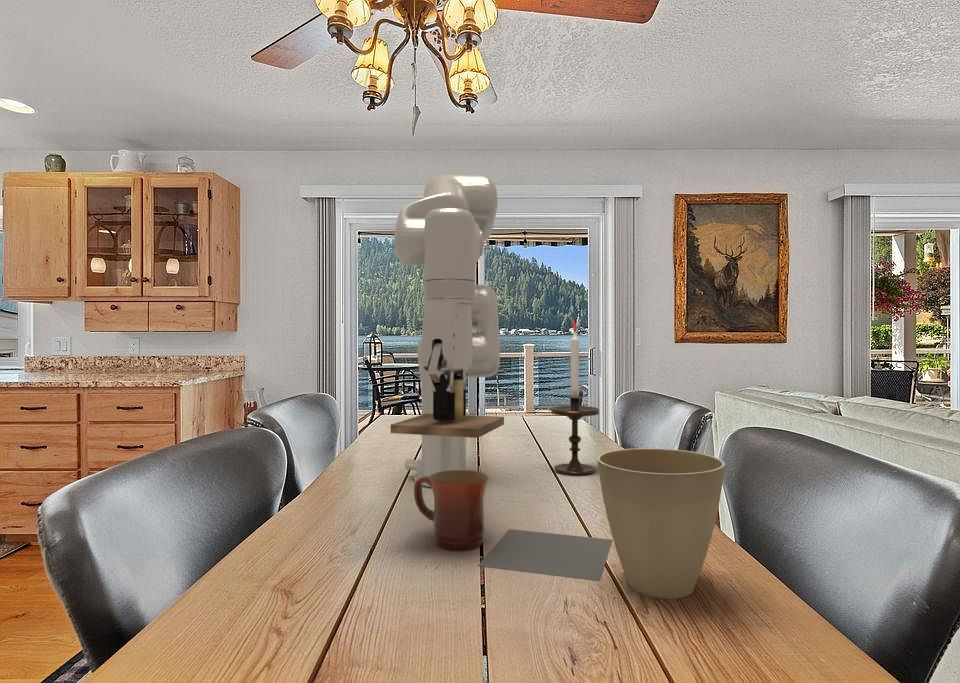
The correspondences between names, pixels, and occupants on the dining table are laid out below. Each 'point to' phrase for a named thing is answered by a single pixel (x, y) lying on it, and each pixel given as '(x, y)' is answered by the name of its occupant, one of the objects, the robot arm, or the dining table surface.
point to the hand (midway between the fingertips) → (449, 416)
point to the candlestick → (574, 416)
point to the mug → (455, 508)
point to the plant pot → (661, 515)
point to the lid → (456, 427)
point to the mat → (549, 554)
